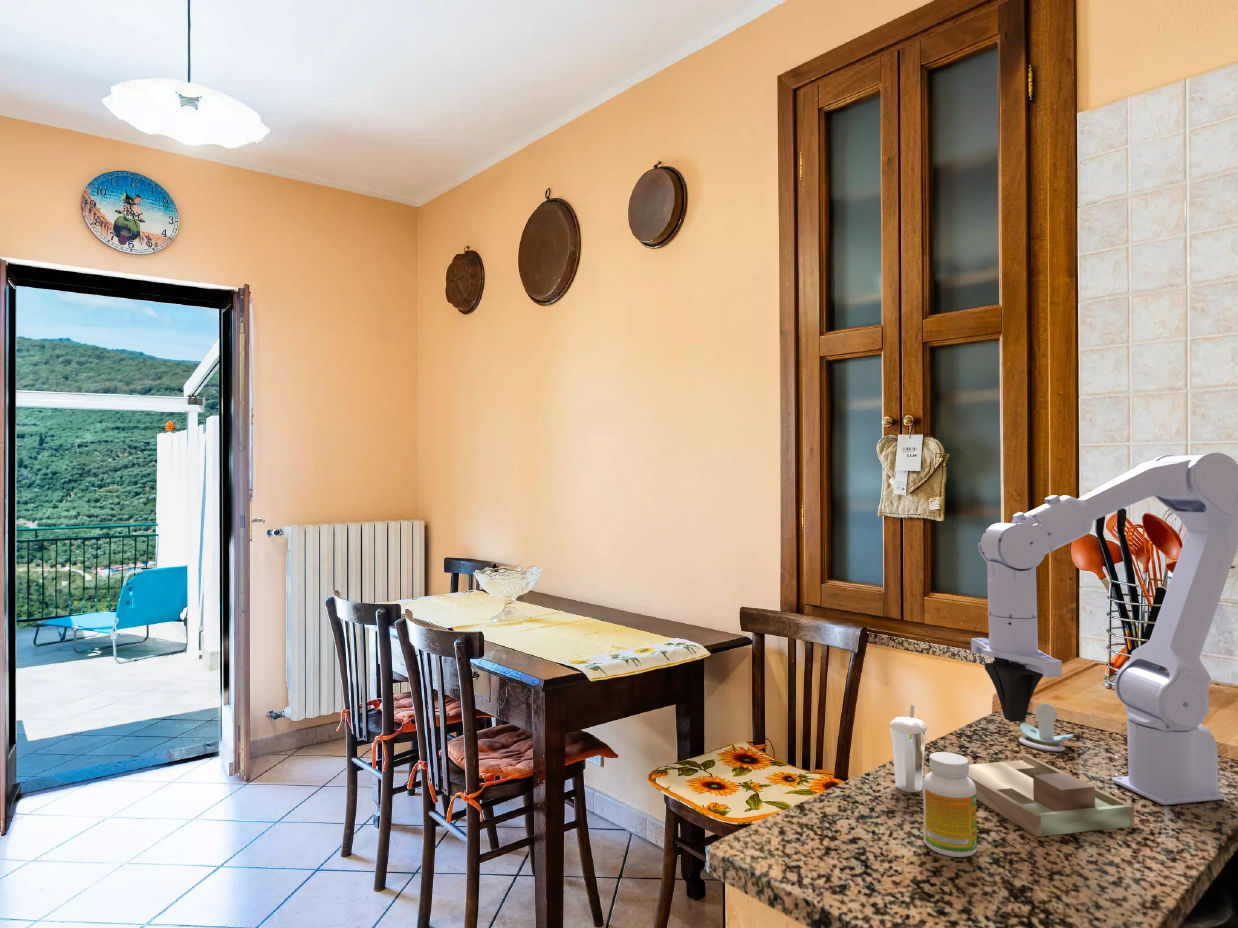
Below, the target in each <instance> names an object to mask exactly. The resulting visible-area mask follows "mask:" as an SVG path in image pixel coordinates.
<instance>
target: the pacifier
mask: <svg viewBox="0 0 1238 928" xmlns="http://www.w3.org/2000/svg"><path fill="white" fill-rule="evenodd" d="M1057 718H1058V713H1057V711H1056V708H1055V707H1054V706H1053V705H1051V704H1050V703H1047V702H1043V703H1040V704H1038V705H1037V707H1036V709H1035V719H1036V720H1037V722H1038V728H1037V727H1035V726H1033V725H1031V724H1027V723H1023V722H1022V723H1020V724H1019V729H1020V731H1021V733H1023V735H1025V736H1021V737H1019V738H1018V741H1019V743H1021V744H1023V745H1025V746H1027V747H1030V748H1033V749H1037V750H1040V751H1041V750H1042V751H1046V752H1047V751H1048V752H1063V751H1065V750H1066V747H1065V746H1064V745H1063V744H1061V743H1063V742H1066V741H1067V740H1070V739H1072V738H1073V737H1074V734H1073V733H1071V734H1063V735H1062V734H1061V735H1055V732H1054V731H1055V726H1054V725H1055V723H1056V721H1057Z"/></svg>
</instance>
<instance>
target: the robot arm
mask: <svg viewBox="0 0 1238 928" xmlns="http://www.w3.org/2000/svg"><path fill="white" fill-rule="evenodd" d="M1151 497H1153V498H1155V499H1157V500H1158V502H1160V503H1161V504H1162V505H1163V506H1165V508H1167V509H1168V510H1169V511H1171V512H1172V513H1173V514H1174V515H1175V516H1176V517H1178V518H1179V520H1180V522H1181V523H1182V524H1183V526H1184V527H1185V528H1186V535H1185V538H1184V540H1183V544H1182V545H1181V546H1182V547H1181V549H1180V552H1179V555H1178V558H1177V560H1176V564H1175V567H1174V568H1173V572H1172V575H1171V578H1170V581H1169V584H1168V586H1167V590H1166V591H1165V595H1164V598H1163V601H1162V602H1161V603H1162V604H1161V607H1160V609H1159V612H1158V614H1157V617H1156V620H1155V624H1154V627H1153V629H1152V633H1151V635H1150V638H1149V640H1148V641H1146V643H1143V644H1141V645H1140V646H1138V647H1137V648H1135V649H1133V650H1132V651H1131V654H1130V657H1129V659H1128V661H1127V663H1126V664H1125V665H1123V666H1122V667H1121V668H1120V669H1119V671H1118V672H1117V673H1116V676H1115V679H1114V684H1113V688H1114V692H1115V694H1116V696H1117V698H1118V700H1119V701H1120V702H1121V704H1123V705H1124V713H1125V714H1126V717H1127V718H1126V726H1127V729H1126V730H1127V775H1126V776H1118V777H1117V776H1116V777H1111V782H1113V783H1115V784H1117V785H1119V786H1121V787H1123V788H1126V789H1128V790H1129V791H1131V792H1135V793H1137V794H1138V795H1140V796H1142V797H1145V798H1147V799H1149V800H1151V801H1154V802H1156V803H1157V804H1160V805H1163V806H1164V805H1165V806H1167V805H1169V806H1170V805H1176V804H1177V805H1179V804H1188V803H1197V802H1198V803H1199V802H1209V801H1216V800H1217V801H1218V800H1226V795H1225V794H1224V793H1221V792H1219V762H1218V759H1219V757H1218V753H1219V751H1218V745H1217V741H1216V739H1215V737H1214V736H1213V733H1212V732H1211V730H1209V728H1207V726H1206V725H1204V724H1202V723H1203V722H1204V721H1205V719H1206V718H1207V716H1208V714H1209V709H1210V700H1209V687H1210V685H1211V680H1212V677H1211V675H1210V673H1209V671H1208V670H1207V668H1206V667H1205V665H1204V664H1203V662H1202V661H1201V659H1200V657H1201V655H1202V652H1203V648H1204V647H1205V643H1206V641H1207V637H1208V634H1209V631H1210V629H1211V625H1212V623H1213V619H1214V616H1215V614H1216V611H1217V608H1218V605H1219V602H1220V599H1221V598H1222V597H1221V596H1222V593H1223V591H1224V589H1225V586H1226V583H1227V580H1228V578H1229V575H1230V571H1231V568H1232V566H1233V562H1234V560H1235V556H1236V555H1237V551H1238V462H1237V461H1236V460H1235V459H1234V458H1233V457H1231V456H1230V455H1227V454H1226V453H1223V452H1208V453H1205V454H1191V455H1190V454H1186V455H1173V454H1166V455H1165V454H1164V455H1161V456H1158V457H1156V458H1155V459H1153V460H1150V461H1149V460H1148V461H1146V462H1142V463H1140V464H1138V465H1137V466H1135V468H1133V469H1130V470H1128V471H1126V472H1125V473H1123V474H1122V475H1119V476H1117V477H1116V478H1114V479H1112V480H1110V481H1108V482H1106V483H1105V484H1102V485H1101V486H1099V487H1097V488H1095V489H1093V490H1092V491H1090V492H1088V493H1087V494H1084V495H1082V496H1081V497H1079V498H1076V497H1073V496H1070V495H1060V496H1059V495H1054V494H1053V495H1050V496H1047V497H1045V498H1044V502H1045V503H1044V504H1042V505H1040V506H1038V507H1035V508H1034V509H1032V510H1029V511H1027V512H1025V513H1024V512H1017V513H1015V514H1013V515H1012V520H1011V522H1010V523H1009V522H997V523H994V524H991V525H990V526H989V527H987V528H986V529H985V532H984V533H983V534H982V536H981V539H980V542H978V543H977V548H978V551H979V553H980V556H981V557H982V558H983V560H985V562H986V566H987V567H986V568H987V570H986V572H987V574H986V575H987V580H986V581H987V583H986V584H987V616H988V617H987V618H988V621H987V622H988V638H985V637H974V638H970V651H971V653H974V654H977V655H978V654H980V655H984V656H987V657H991V658H993V660H992V662H987V663H986V662H985V663H984V670H985V671H986V673H987V674H988V676H989V678H990V680H991V682H992V683H993V686H994V688H995V690H996V691H995V692H996V694H997V696H998V699H999V703H1000V706H1001V710H1002V714H1003V717H1004V719H1005V720H1006V721H1008V722H1012V723H1015V722H1026V718H1027V714H1028V710H1029V706H1030V702H1031V700H1032V697H1033V693H1035V690H1036V687H1037V686H1038V684H1039V683H1040V681H1041V679H1043V677H1045V678H1061V677H1063V663H1062V662H1063V661H1062V660H1059V659H1057V658H1054V657H1052V656H1051V655H1049V654H1047V653H1045V652H1044V651H1041V650H1039V638H1038V635H1039V634H1038V633H1039V631H1038V624H1039V623H1038V604H1037V603H1038V598H1037V596H1038V595H1037V593H1038V591H1037V590H1038V589H1037V567H1039V565H1040V564H1041V563H1042V562H1043V560H1044V559H1045V556H1046V554H1049V553H1051V552H1054V551H1055V550H1057V549H1060V548H1061V547H1063V546H1066V545H1068V544H1070V543H1072V542H1074V541H1076V540H1078V539H1082V537H1084V536H1087V535H1089V534H1090V532H1091V530H1092V528H1093V524H1094V521H1096V520H1098V519H1100V518H1103V517H1105V516H1107V515H1111V514H1113V513H1115V512H1117V511H1120V510H1122V509H1124V508H1126V507H1129V506H1132V505H1134V504H1136V503H1139V502H1141V501H1143V500H1147V499H1148V498H1151Z"/></svg>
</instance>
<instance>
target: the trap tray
mask: <svg viewBox="0 0 1238 928" xmlns="http://www.w3.org/2000/svg"><path fill="white" fill-rule="evenodd" d="M1021 755H1022V756H1021V757H1022V760H1020V759H1019V760H1008V761H998V762H995V761H994V762H986V763H985V762H984V763H973V764H970V763H969V774H968V775H967V777H969V778H970V779H971V780H972V781H973V782H974V784H975V786H976V801H978V802H981V804H983V805H985V806H987V807H989V808H990V809H991V810H992V811H995V812H996V813H998V814H1000V815H1001V816H1003V817H1004V818H1006V819H1007V820H1009V821H1010V822H1012V823H1014V824H1015V825H1017V826H1019V827H1020V828H1022V829H1024V830H1025V831H1027V832H1028V833H1030V834H1032V835H1033V836H1035V837H1044V836H1045V837H1046V836H1052V835H1053V836H1054V835H1064V834H1073V833H1080V832H1081V833H1083V832H1092V831H1102V830H1112V829H1120V828H1121V829H1122V828H1130V827H1135V806H1134V805H1132V804H1130V803H1128V802H1126V801H1124V800H1122V799H1119V797H1118V798H1117V797H1115V796H1114V795H1112V794H1110V793H1108V792H1105V791H1104V790H1101V789H1100V788H1097V787H1095V808H1085V809H1075V810H1065V811H1055V812H1054V811H1052V810H1050V809H1048V808H1047V807H1045V806H1043V805H1041V804H1039V803H1038V802H1036V801H1034V794H1033V775H1043V774H1054V773H1065V772H1064V771H1062V770H1060V769H1059V768H1056V767H1053V766H1052V765H1049V764H1047V763H1045V762H1044V761H1041V760H1039V759H1037V758H1035V757H1033V756H1031V755H1029V754H1027V753H1023V754H1021Z"/></svg>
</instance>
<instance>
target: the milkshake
mask: <svg viewBox="0 0 1238 928" xmlns="http://www.w3.org/2000/svg"><path fill="white" fill-rule="evenodd" d="M909 715H910V716H896V717H894V718H893V719H892V720H891V721H890V722H889V731H890V737H891V738H890V739H891V747H892V758H893V759H892V760H893V770H894V771H893V772H894V782H895V784H894V785H895V787H896V788H897V789H899V790H901V791H903V792H907V793H918V792H921V791H923V781H924V767H925V764H924V763H925V751H926V739H927V729H928V727H927V724H926V723H925V722H924V721H923V720H922V719H919V718H916V717H915V716H914V715H915V705H911V704H910V713H909Z"/></svg>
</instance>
